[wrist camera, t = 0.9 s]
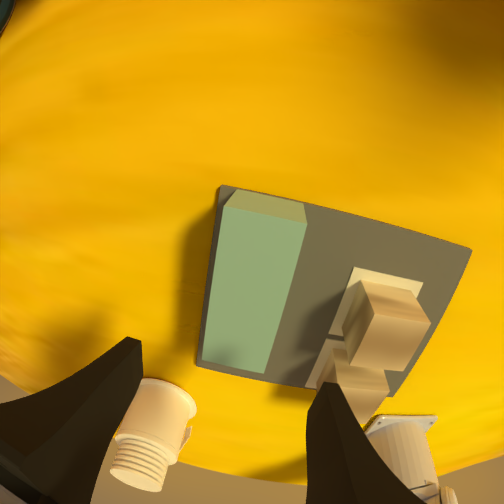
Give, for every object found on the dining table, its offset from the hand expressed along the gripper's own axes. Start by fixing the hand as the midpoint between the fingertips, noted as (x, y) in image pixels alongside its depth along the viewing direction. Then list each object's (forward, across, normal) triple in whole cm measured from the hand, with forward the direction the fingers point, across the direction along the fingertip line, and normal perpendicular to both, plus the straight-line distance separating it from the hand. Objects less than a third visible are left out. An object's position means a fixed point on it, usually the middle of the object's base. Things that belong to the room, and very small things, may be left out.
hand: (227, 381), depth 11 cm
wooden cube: (+10, -9, +7) cm, 15 cm away
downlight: (+10, +6, +17) cm, 21 cm away
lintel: (+10, 0, 0) cm, 10 cm away
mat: (+10, -6, +2) cm, 12 cm away
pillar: (+10, -9, +1) cm, 13 cm away
